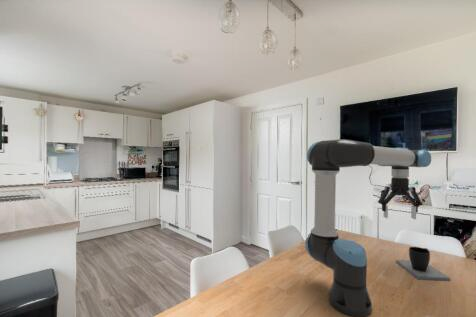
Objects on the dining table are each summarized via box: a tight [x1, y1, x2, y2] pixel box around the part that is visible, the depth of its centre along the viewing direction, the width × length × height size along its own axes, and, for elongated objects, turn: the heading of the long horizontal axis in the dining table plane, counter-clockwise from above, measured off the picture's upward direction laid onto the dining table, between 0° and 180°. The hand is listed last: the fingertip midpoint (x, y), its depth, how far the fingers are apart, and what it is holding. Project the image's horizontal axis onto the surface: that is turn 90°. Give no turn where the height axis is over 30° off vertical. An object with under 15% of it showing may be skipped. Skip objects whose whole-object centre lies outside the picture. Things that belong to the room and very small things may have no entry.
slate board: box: [395, 259, 451, 282], centre depth 117 cm, size 18×14×1 cm
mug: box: [408, 246, 431, 271], centre depth 117 cm, size 8×12×10 cm
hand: (399, 218), depth 121 cm, fingers open, 13 cm apart
